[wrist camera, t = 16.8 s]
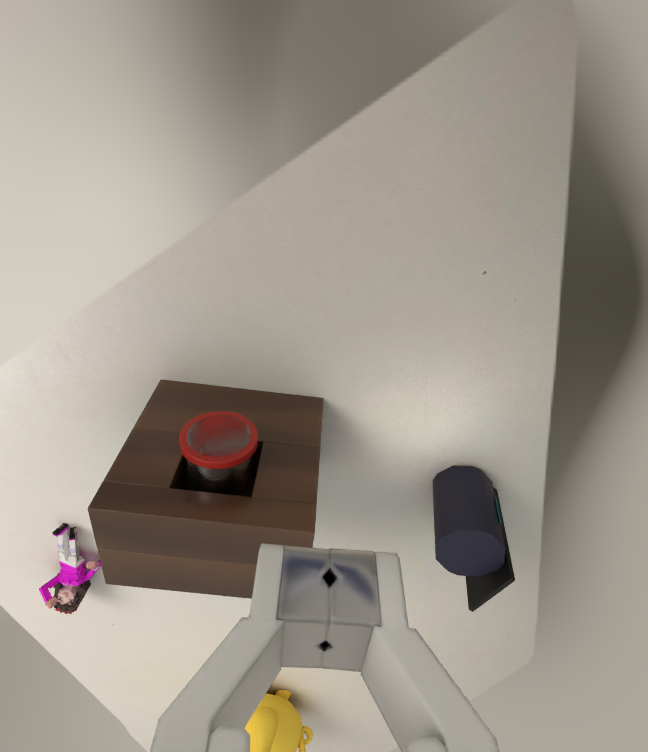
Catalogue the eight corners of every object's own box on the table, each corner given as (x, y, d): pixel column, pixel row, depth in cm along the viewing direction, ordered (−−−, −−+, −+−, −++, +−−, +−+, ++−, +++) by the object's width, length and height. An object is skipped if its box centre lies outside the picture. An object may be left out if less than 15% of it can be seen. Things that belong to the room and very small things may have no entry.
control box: (160, 379, 41) (87, 508, 29) (323, 398, 41) (314, 532, 30) (166, 448, 45) (105, 584, 34) (313, 464, 46) (303, 604, 34)
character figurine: (50, 514, 53) (58, 588, 58) (25, 550, 48) (37, 627, 54) (103, 520, 53) (106, 593, 59) (83, 557, 49) (89, 632, 54)
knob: (190, 406, 34) (168, 457, 30) (263, 415, 34) (251, 466, 30) (192, 448, 37) (172, 500, 32) (261, 455, 37) (249, 509, 32)
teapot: (298, 731, 80) (291, 823, 71) (210, 717, 79) (191, 809, 69) (332, 678, 69) (329, 777, 60) (230, 660, 68) (212, 759, 58)
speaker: (513, 498, 47) (537, 594, 38) (461, 520, 50) (473, 614, 41) (470, 448, 45) (486, 538, 36) (418, 474, 47) (421, 563, 38)
